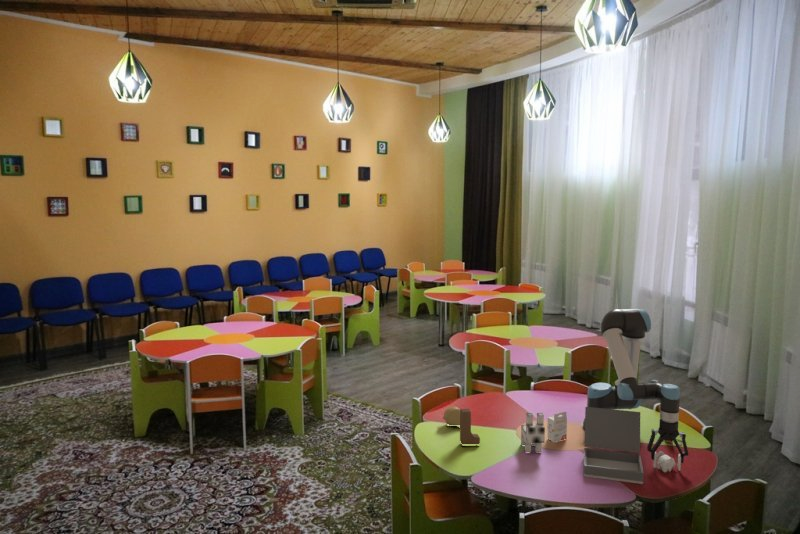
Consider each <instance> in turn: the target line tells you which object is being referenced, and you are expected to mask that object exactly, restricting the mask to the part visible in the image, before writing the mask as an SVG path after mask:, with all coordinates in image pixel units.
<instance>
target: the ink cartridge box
mask: <svg viewBox="0 0 800 534" xmlns="http://www.w3.org/2000/svg"><path fill="white" fill-rule="evenodd" d="M567 426H568V415H567V411H563V412H559V413H554V414H553V416H548V417H547V438H548V439H549V440H551V441H553V442H556V441H559V442H561V441H560V440H563V441H565V440H564V439H566V440H567V437H568V435H567V434H568V433H567V431H568V429H567V428H568V427H567ZM549 440H548V441H549ZM551 441H550V442H551ZM553 442H552V443H553ZM556 443H557V442H556Z"/></svg>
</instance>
